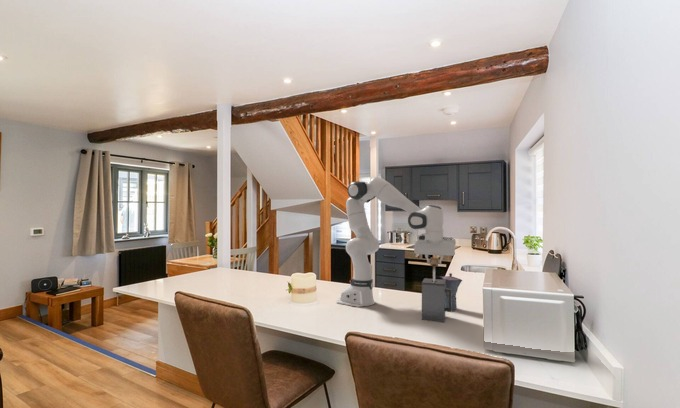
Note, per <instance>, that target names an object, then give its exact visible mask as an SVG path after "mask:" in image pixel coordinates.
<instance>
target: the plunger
mask: <svg viewBox="0 0 680 408" xmlns="http://www.w3.org/2000/svg"><path fill="white" fill-rule="evenodd" d="M429 260H430V264H429V266H430V267H432V279H433V282H435V277H436V267H439V264H438V260H439V257H435V256H433V257H429Z"/></svg>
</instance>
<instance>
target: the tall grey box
mask: <svg viewBox="0 0 680 408" xmlns="http://www.w3.org/2000/svg"><path fill="white" fill-rule="evenodd" d="M446 292H449V308H446ZM451 301H452V289H449V288H446V280H440V279H435V282H433V278H427V277H425V278H423V280H422V282H421V321H426V322H435V323H445V321H446V313H451V312H452V311H451Z"/></svg>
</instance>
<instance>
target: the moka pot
mask: <svg viewBox="0 0 680 408" xmlns="http://www.w3.org/2000/svg"><path fill="white" fill-rule="evenodd" d="M435 279H440V280H446V288H449V289H452V301H451V312H454V311H457V310H458V309H457V308H458V307H457V293H458V289H459V286H460V285H461V283H462V282H463V280H462V279H461V278H458V277H455V276H453V273H451V272H450V273H448V276H447V275H445V276H441V275H435ZM446 308H449V292H446Z"/></svg>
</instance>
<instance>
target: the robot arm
mask: <svg viewBox="0 0 680 408" xmlns="http://www.w3.org/2000/svg"><path fill="white" fill-rule="evenodd" d="M347 194H348V196H349V197H348V198H347V200H346V202H345V206H346V207H345V208H346V209H345V210H346V215H347V219H348V226H349V229H350V231H352V232H353V234H354V235H355V236H356V237H353V238H351V239H349V240H348V241H346V244H345V252H346V253H347V254H348V255H349V257H350V259H351V262H352V269H353V272H352V273H353V276H352V278H351V279H349V283H350V284H349V285H348V286H346V287H345V288H344V289H343V290H342V291H341V292H340V297H339V298H337V299H336V304H339V305H346V306H352V307H356V308H357V307H358V308H360V307H367V306H368V307H369V306H372V305H374V304H375V303H376V302H375V298H374V293H373V288H374V279H373V265H372V264H371V263H370V261H369V258H368V256H370V255H372V254H375V253H376V252H377V251H379V249H380V241H379V239H378V238H377V237H376V236H375V235H374V233H373V232H372V231H371V229H370V225H369V222H368V218H367V213H366V210H365V203H369V202H371V201H372V200H374V199H375V198H376V199H378V200H379V201H380V202H381V203H382V204H384V205H385V206H388V207H394V208H397V209H401V210H403V211H405V212H407V213H408V214H409V215H408V217H407V224H408V226H409V227H410V229H413V230H416V231H417V230H425V233H421V234H419V235H416V241H415V243H414V245H413V246H414V248H413V253H414V254H415V255H424V257H425V259H426V263H427V264H429V265H430V258H429V255H430V256H431V255H432V256H439V257H440V259H438V265H442V261H443V259H444V257H445V256H448V257H450V256H451V257H453V256H454V255H456V250H455V249H456V248H455V246H456V239H455V238H453V237H451V236H450V237H447V236H444V228H443V225H444V212H443V209H442V207H440V206H438V205H433V204H430V205H428V204H427V205H426V206H425V207H424V208H421V207H420V206H418V205H417V204H416V203H414V202H413V201H412V200H410V199H409V198H407V196H405V195H404V194H403V193H402V192H401V191H400V190H399V189H397V188H396V187H395V186H394V185H393V184H392V183H390V182H389V181H387V180H385V179H384V178H383V177H380V176H374V177H372V178H371V179H370V180H369V181H352V182H351V183H349V185H348V187H347Z"/></svg>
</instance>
